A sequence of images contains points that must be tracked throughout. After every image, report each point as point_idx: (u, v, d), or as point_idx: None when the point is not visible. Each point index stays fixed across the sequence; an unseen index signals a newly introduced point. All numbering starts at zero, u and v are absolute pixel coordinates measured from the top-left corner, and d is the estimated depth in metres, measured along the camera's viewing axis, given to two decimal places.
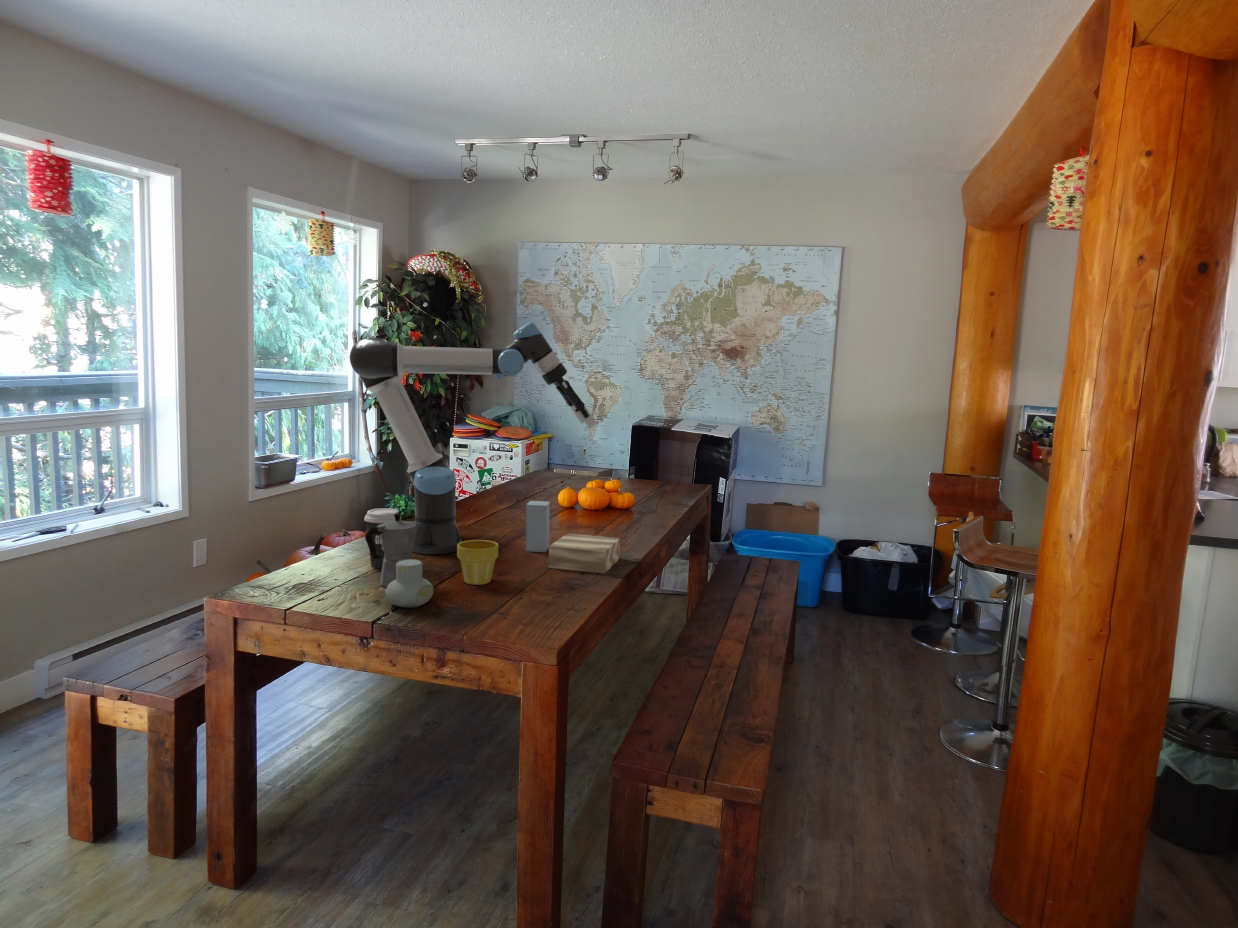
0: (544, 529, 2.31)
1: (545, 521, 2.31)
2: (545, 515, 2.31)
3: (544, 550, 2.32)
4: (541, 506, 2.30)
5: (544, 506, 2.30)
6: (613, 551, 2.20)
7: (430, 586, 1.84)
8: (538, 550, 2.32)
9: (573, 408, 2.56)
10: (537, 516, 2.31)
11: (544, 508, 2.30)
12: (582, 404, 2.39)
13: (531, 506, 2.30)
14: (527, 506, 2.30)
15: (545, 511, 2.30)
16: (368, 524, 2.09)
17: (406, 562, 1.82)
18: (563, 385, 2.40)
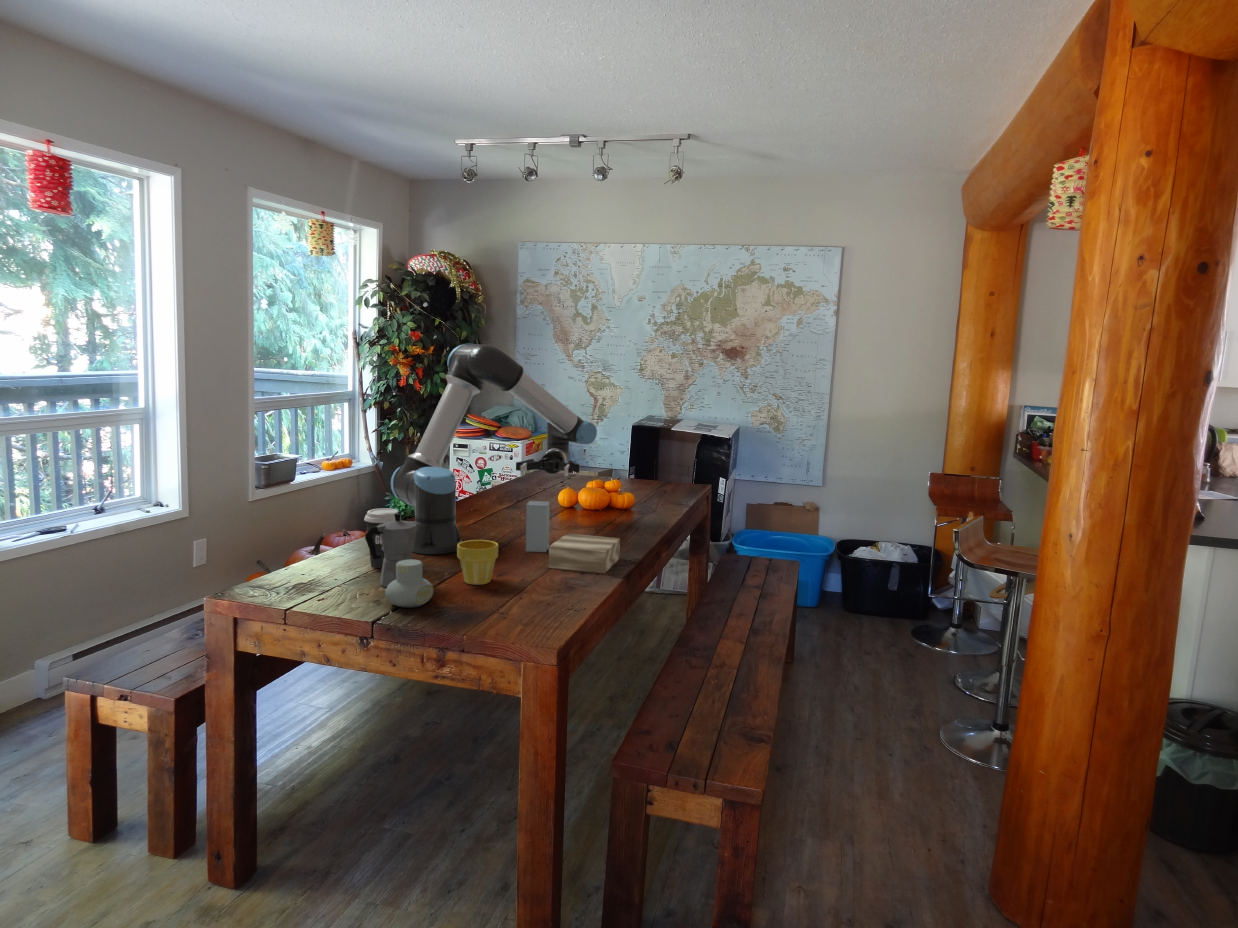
0: (544, 529, 2.31)
1: (545, 521, 2.31)
2: (545, 515, 2.31)
3: (544, 550, 2.32)
4: (541, 506, 2.30)
5: (544, 506, 2.30)
6: (613, 551, 2.20)
7: (430, 586, 1.84)
8: (538, 550, 2.32)
9: (526, 465, 2.47)
10: (537, 516, 2.31)
11: (544, 508, 2.30)
12: None
13: (531, 506, 2.30)
14: (527, 506, 2.30)
15: (545, 511, 2.30)
16: (368, 524, 2.09)
17: (406, 562, 1.82)
18: None
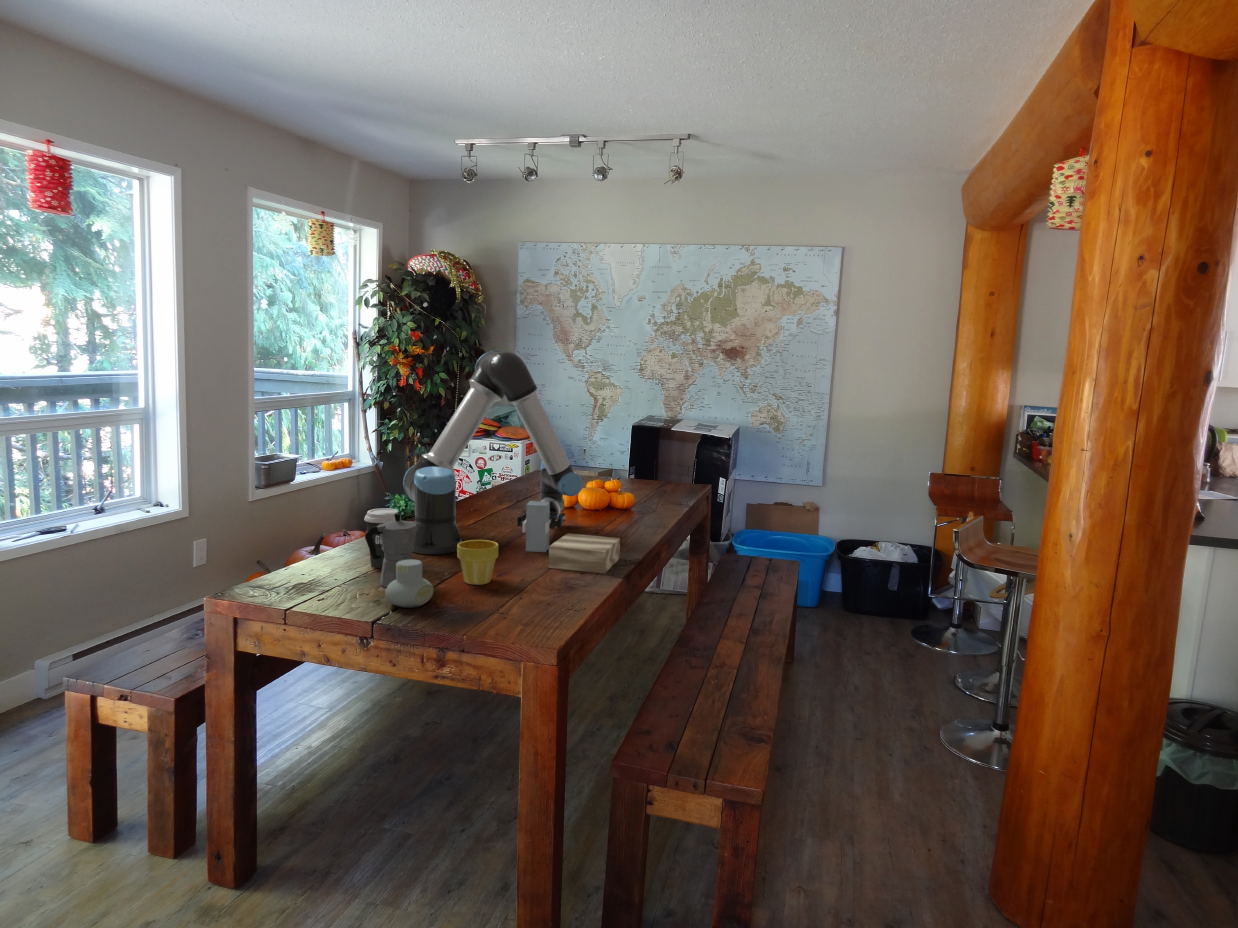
0: (544, 529, 2.31)
1: (545, 521, 2.31)
2: (545, 515, 2.31)
3: (544, 550, 2.32)
4: (541, 506, 2.30)
5: (544, 506, 2.30)
6: (613, 551, 2.20)
7: (430, 586, 1.84)
8: (538, 550, 2.32)
9: None
10: (537, 516, 2.31)
11: (544, 508, 2.30)
12: (560, 525, 2.36)
13: (531, 506, 2.30)
14: (527, 506, 2.30)
15: (545, 511, 2.30)
16: (368, 524, 2.09)
17: (406, 562, 1.82)
18: (564, 516, 2.44)
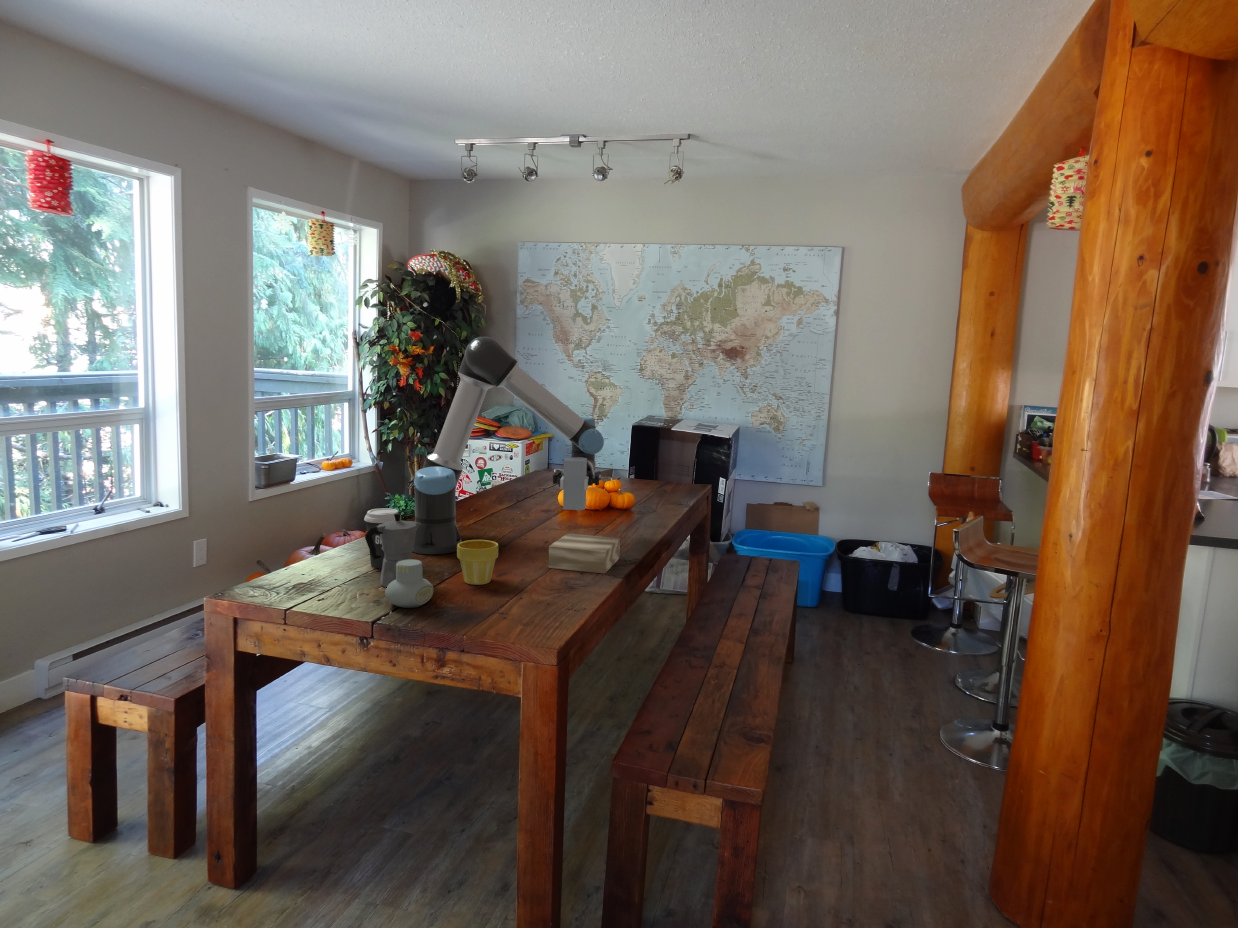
0: (582, 486, 2.21)
1: (583, 477, 2.21)
2: (583, 471, 2.21)
3: (582, 508, 2.22)
4: (579, 462, 2.20)
5: (582, 461, 2.20)
6: (613, 551, 2.20)
7: (430, 586, 1.83)
8: (576, 508, 2.22)
9: None
10: (575, 472, 2.21)
11: (582, 464, 2.20)
12: (598, 483, 2.26)
13: (569, 462, 2.20)
14: (565, 462, 2.20)
15: (583, 467, 2.20)
16: (368, 524, 2.09)
17: (406, 562, 1.82)
18: (600, 474, 2.34)
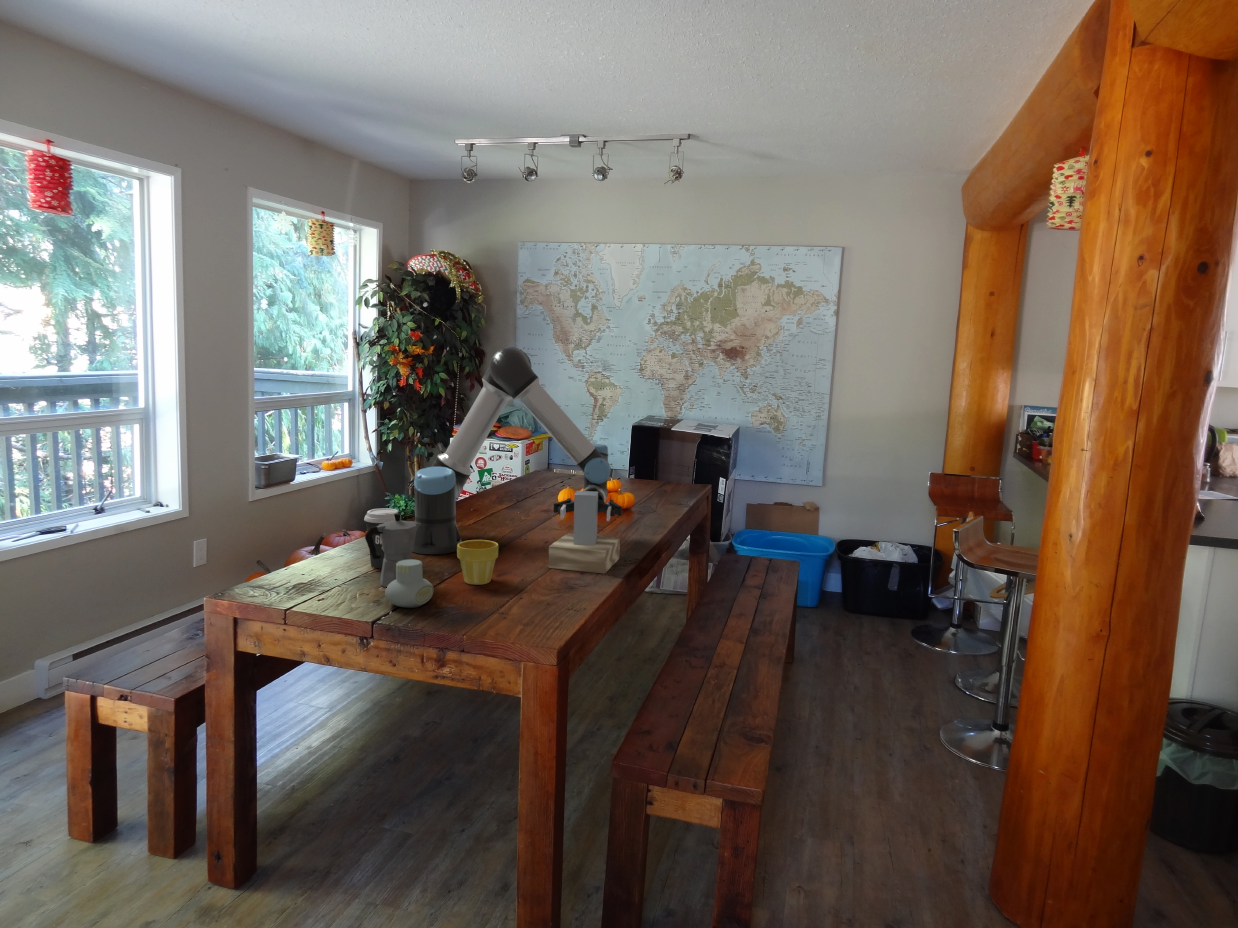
0: (593, 521, 2.17)
1: (594, 512, 2.17)
2: (594, 506, 2.16)
3: (593, 543, 2.18)
4: (590, 496, 2.16)
5: (593, 496, 2.16)
6: (613, 551, 2.20)
7: (430, 586, 1.83)
8: (587, 543, 2.18)
9: (565, 507, 2.22)
10: (586, 506, 2.16)
11: (593, 498, 2.16)
12: (621, 513, 2.24)
13: (579, 496, 2.16)
14: (575, 496, 2.16)
15: (594, 501, 2.16)
16: (368, 524, 2.09)
17: (407, 562, 1.82)
18: None
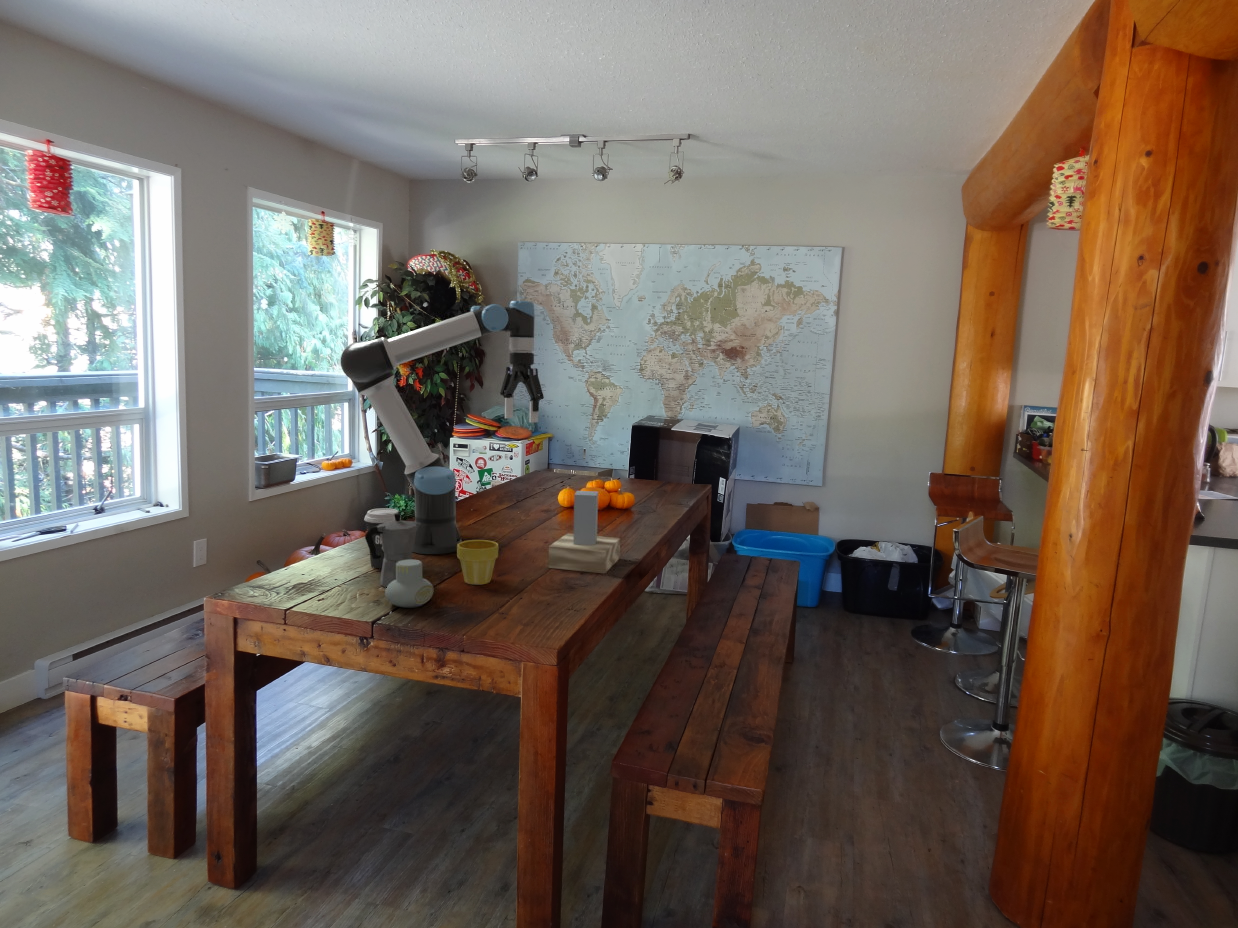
0: (593, 521, 2.17)
1: (594, 512, 2.17)
2: (594, 506, 2.16)
3: (593, 543, 2.18)
4: (590, 496, 2.16)
5: (593, 496, 2.16)
6: (613, 551, 2.20)
7: (430, 586, 1.83)
8: (587, 543, 2.18)
9: (507, 400, 2.50)
10: (586, 506, 2.16)
11: (593, 498, 2.16)
12: (542, 397, 2.39)
13: (579, 496, 2.16)
14: (575, 496, 2.16)
15: (594, 501, 2.16)
16: (368, 524, 2.09)
17: (406, 562, 1.82)
18: (533, 371, 2.39)
